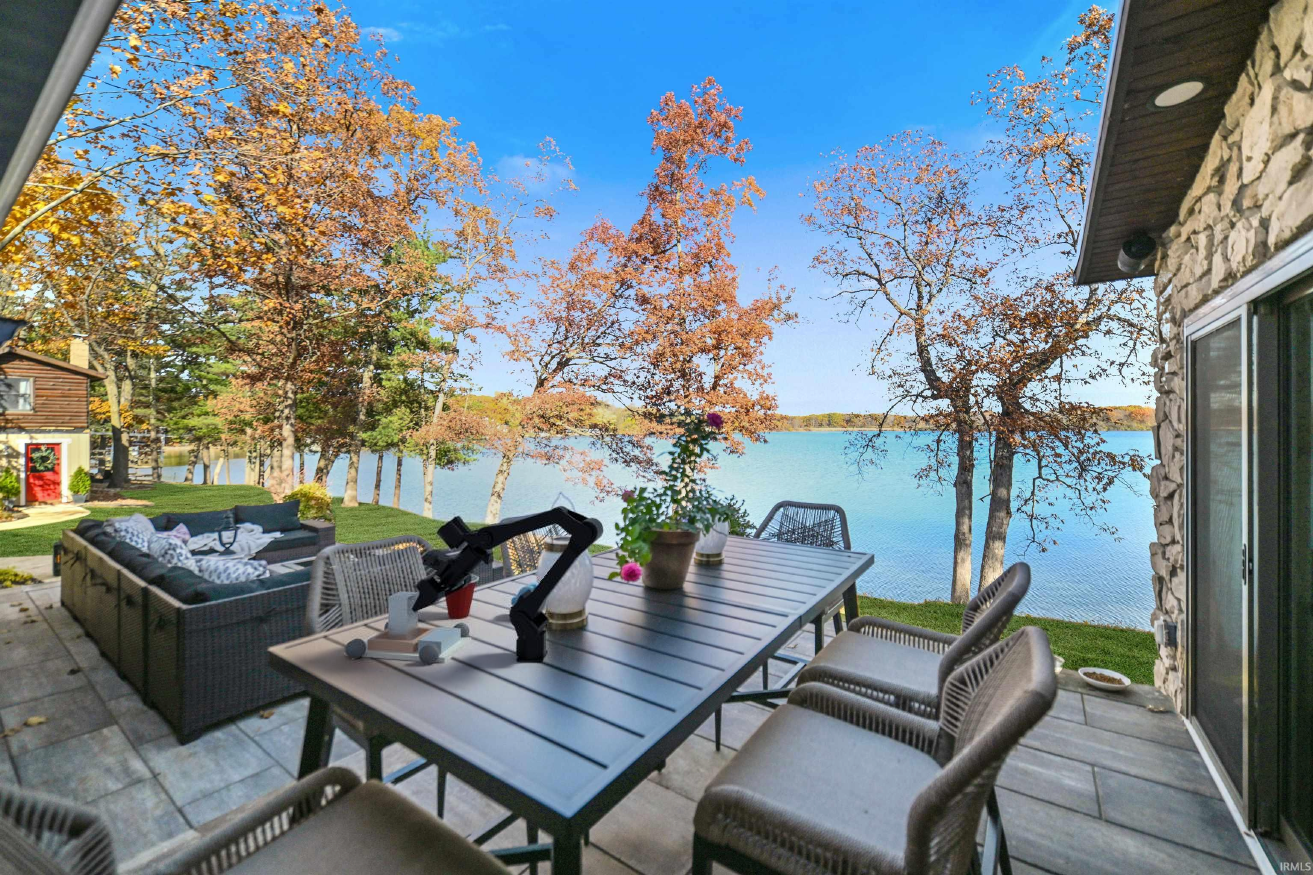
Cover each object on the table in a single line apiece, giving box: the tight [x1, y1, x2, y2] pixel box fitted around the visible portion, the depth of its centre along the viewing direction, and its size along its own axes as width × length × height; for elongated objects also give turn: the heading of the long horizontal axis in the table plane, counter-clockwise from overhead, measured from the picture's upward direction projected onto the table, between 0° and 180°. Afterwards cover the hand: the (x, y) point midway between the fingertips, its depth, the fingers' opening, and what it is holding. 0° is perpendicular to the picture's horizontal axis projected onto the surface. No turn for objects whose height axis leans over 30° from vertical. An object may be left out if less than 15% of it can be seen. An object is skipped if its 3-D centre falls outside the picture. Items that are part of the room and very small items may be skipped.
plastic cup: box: [444, 573, 480, 620], centre depth 170 cm, size 11×11×12 cm
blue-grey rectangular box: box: [387, 590, 419, 641], centre depth 143 cm, size 5×5×12 cm
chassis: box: [344, 621, 472, 665], centre depth 143 cm, size 26×17×4 cm, turn 83°
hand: (423, 605), depth 143 cm, fingers open, 9 cm apart
